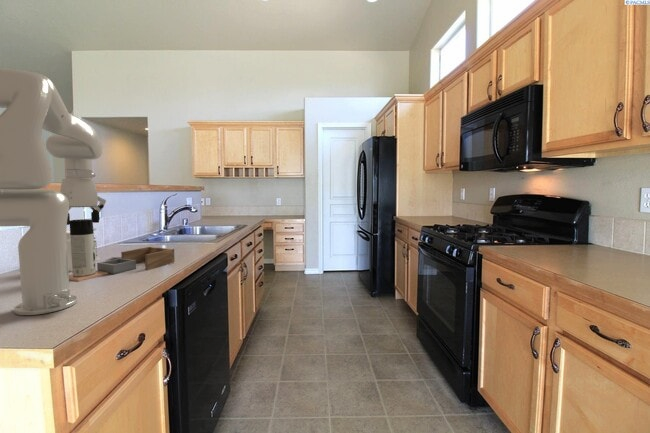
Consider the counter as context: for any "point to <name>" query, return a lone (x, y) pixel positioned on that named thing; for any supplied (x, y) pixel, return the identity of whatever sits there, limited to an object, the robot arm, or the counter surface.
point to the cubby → (150, 256)
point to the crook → (113, 258)
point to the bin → (116, 266)
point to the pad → (97, 273)
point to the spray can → (82, 247)
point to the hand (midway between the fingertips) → (81, 223)
